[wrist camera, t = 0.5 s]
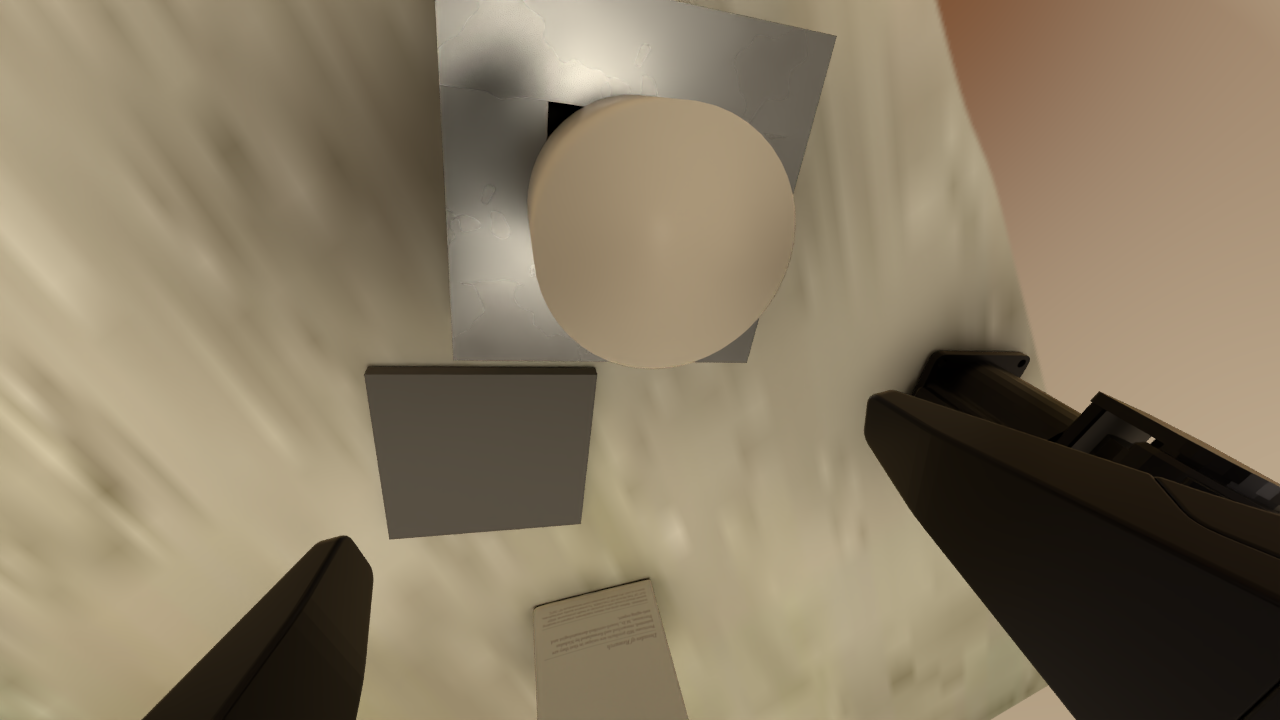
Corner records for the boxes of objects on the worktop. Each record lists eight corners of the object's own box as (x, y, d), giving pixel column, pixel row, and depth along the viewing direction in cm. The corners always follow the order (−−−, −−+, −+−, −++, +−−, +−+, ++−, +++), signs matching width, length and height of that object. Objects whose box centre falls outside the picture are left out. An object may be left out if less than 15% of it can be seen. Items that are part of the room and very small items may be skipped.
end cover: (713, 107, 17) (830, 122, 11) (681, 280, 20) (758, 369, 14) (527, 77, 15) (538, 74, 9) (522, 271, 18) (528, 368, 12)
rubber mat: (594, 367, 21) (597, 374, 21) (579, 515, 25) (580, 523, 25) (368, 366, 19) (364, 374, 18) (392, 529, 23) (389, 539, 23)
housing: (787, 42, 17) (836, 35, 14) (719, 330, 22) (746, 362, 19) (446, -28, 14) (432, -53, 11) (460, 323, 19) (453, 360, 16)
